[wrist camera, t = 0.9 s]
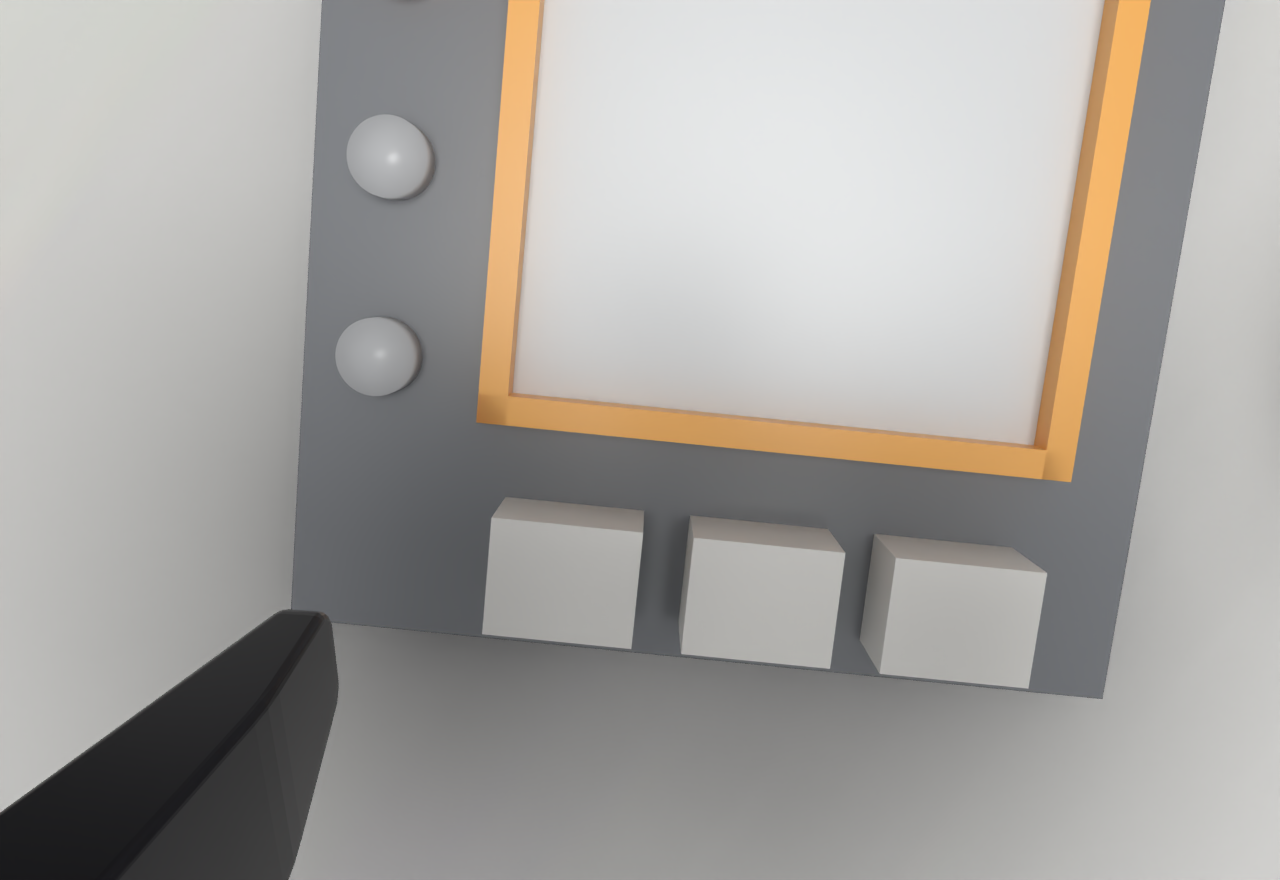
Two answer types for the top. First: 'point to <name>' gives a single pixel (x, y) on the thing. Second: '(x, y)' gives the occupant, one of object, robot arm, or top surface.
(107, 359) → the top surface
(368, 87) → the panel
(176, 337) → the top surface
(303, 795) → the robot arm
